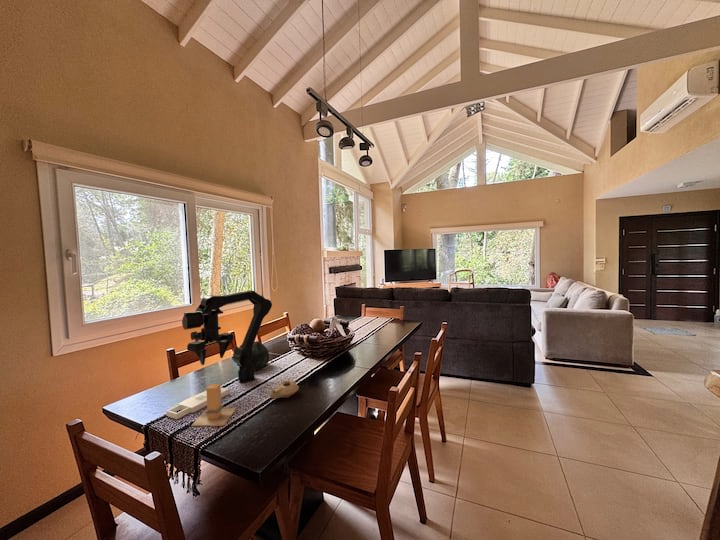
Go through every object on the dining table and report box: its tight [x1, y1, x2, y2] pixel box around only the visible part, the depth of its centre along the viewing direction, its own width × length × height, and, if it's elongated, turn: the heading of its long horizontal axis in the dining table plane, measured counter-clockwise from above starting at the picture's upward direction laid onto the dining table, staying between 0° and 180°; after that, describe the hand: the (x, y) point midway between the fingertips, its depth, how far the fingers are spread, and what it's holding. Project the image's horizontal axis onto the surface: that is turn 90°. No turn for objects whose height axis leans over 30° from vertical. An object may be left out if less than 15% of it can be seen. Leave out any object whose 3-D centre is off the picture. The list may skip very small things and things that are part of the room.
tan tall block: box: [204, 383, 224, 419], centre depth 105 cm, size 4×4×11 cm
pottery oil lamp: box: [268, 380, 300, 399], centre depth 121 cm, size 9×12×7 cm
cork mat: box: [190, 407, 237, 428], centre depth 106 cm, size 11×11×1 cm
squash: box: [252, 340, 270, 370], centre depth 153 cm, size 14×15×15 cm
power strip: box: [165, 387, 230, 420], centre depth 116 cm, size 22×8×3 cm, turn 156°
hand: (212, 361), depth 127 cm, fingers open, 9 cm apart
